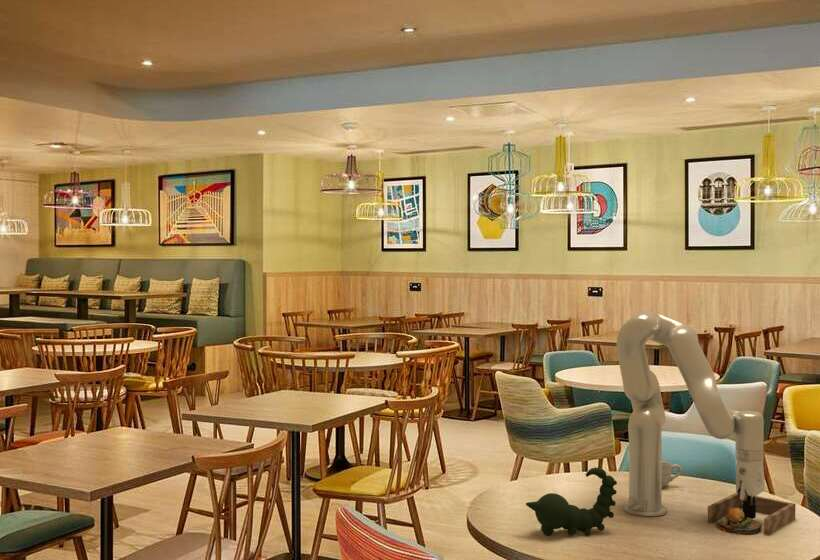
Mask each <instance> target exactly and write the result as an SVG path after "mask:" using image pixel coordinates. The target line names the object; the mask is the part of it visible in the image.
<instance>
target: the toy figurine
mask: <svg viewBox="0 0 820 560" xmlns="http://www.w3.org/2000/svg"><path fill="white" fill-rule="evenodd" d="M592 475H594V476H597V477H598V479H600V480H601V483H602V484H601V485H600V486H599V494H598V495H597V497H596V502H595V503H594V504H593V505H592V507H591V508H580V507H578V506H576V505H575V504H569V502H568V501H567V499H566V498H565V497H564V496H563V495H560V494H558V493H555V492H553V493H551V492H550V493H546V494H544V495H542V496H541V497H539V499H538V500H536V501H530V502H526V503H525V506H527V507H528V508H530V509H531V510H532V511H534V513H535V517H536V520H537V522H538V523H539V524H540V525H541V526H540V531H541V533H542V534H544V536H547V537H549V536H551V535H552V534H554V530H558V529H563V530H565V531H567V533H568V534H569V535H570V536H575V535H576V534H577V533H578V532H577V531H579V532H583V534H584V535H585V536H590V535H591V534H592V529H593V528H596V529H597V530H598V531H601V532H602V531H604V530H605V524H604V523H603V522H604V519H606V518H607V517H608V518H609V519H613V518H614V516H615V513H614V512H613V511H611V508H610V507H611V506H612V507H614V506H616V501H615V500H614V499H613V496H615V495H617V490H616V489H615V488H614V486H616V485H617V484H618V481H617V480H615V478H614V477H613V476H612V475H609V474H608V475H607V471H606V470H604V469H603V468H602V467H592V468H590V469H588V471H586V473H585V477H586V478H587V477H589V476H592Z"/></svg>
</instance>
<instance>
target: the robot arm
mask: <svg viewBox="0 0 820 560" xmlns="http://www.w3.org/2000/svg"><path fill="white" fill-rule="evenodd" d="M648 341H652V342H655V343H656V344H660V345H663V346H665V347H667V348H668V351H669V352H670V354H671V357H672V359H673V361H674V362H675V364H676V366H677V368H678V370H679V373H680V375H681V377H682V378H683V381H684V383H685V385H686V388H687V390H688V392H689V394H690V397H691V399H692V401H693V404H694V406H695V408H696V410H697V413H698V414H699V416H700V419H701V421H702V423H703V425H704V428H705V429H706V431H707V432H708V433H709V434H710V436H712V437H713V438H715V439H717V440H724V439H725V440H726V439H728V438H730V437H731V436H732V435H733V434H735V460H736V461H737V463H736V473H735V491H736V492H735V493H737V494H739V495H740V500H742V504H743V509H742V511H743V512H744V516H746V517H748V518H747V519H749V518H750V519H752V520H754V519H756V517H757V516H756V515H757V512H756V498H757V496H758V495H760V494H761V493H764V491H765V469H764V438H765V437H764V429H765V428H764V425H765V423H764V415H763V414H762V413H761V412H759V411H755V410H735V409H730V408H727V407H726V406H725V404H724V402H723V400H722V398H721V395H720V392H719V390H718V386H717V382H716V376H715V372H714V370H713V369H712V367H711V365H710V362H709V361H708V359H707V357H706V355H705V353H704V351H703V349H702V347H701V344H700V343H699V335H698V334H697V331H696V330H695V329H694V328H693V327H692V326H690V325H687V324H685V323H681V322H680V321H677V320H674V319H672V318H670V317H668V316H665V315H662V314H659V313H657V312H655V311H650V310H645V311H641V312H638V313H637V314H635V315H633V316H631V317H630V318H629V319H628V320H627V321H626V322H624V324H623V325H622V326H621V327H620V328H619V331H618V333H617V337H616V352H617V356H618V357H617V358H618V363H619V364H618V365H619V369H620V375H621V380H622V387H623V392H624V394H625V397H627V398H628V399H629V400H630V403H631V407H632V412H631V414H630V416H629V419H628V423H627V424H628V425H627V432H628V458H629V459H628V463H629V464H628V468H629V469H628V472H629V473H628V501H627V502H625V503H623V504H622V508H623V510H624V511H625V512H626V513H629V514H631V515H636V516H640V517H660V516H663V515H666V514H667V511H668V509H667V506H665V505H664V504H662V498H663V497H662V494H663V493H662V490H663V487H662V461H663V458H662V456H663V453H662V451H663V444H662V441H663V440H662V429H663V427H664V425H665V422H666V413H665V408H664V402H663V397H662V393H661V387H660V383H659V380H658V377H657V376H656V374H655V373H654V372H653V371H652V370H650V364H649V360H648V358H649V357H648V353H647V350H646V345H647V342H648Z"/></svg>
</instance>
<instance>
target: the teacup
mask: <svg viewBox="0 0 820 560" xmlns="http://www.w3.org/2000/svg"><path fill="white" fill-rule="evenodd" d="M675 468H677V469H678V471H677V473H675V474H674V475H672V472H673V469H675ZM682 471H683V470H682V467H681V465H679V464H678V463H677V464H676V463H674V464H672V463H671V462H670V461H669V462H668V461H664V460H662V488H666V486H667V485H668V484H670V483H671V482H673V480H675V479H676V478H678V477H679V476H680V475H681V474H682Z"/></svg>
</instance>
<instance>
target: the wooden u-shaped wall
mask: <svg viewBox="0 0 820 560" xmlns="http://www.w3.org/2000/svg"><path fill="white" fill-rule="evenodd" d="M732 508H739V509H741V510H743V504H742V500H740V495H739V494H737V492H735V493H732V494H730V495H729V496H727V497H724V498H722V499H720V500H718V501H716V502H714V503H712V504H710V505H708V506H707V522H708V523H714V522H715V521H716V522H717V520H718V519H719V518H722V517H726V516H728V511H729V510H730V509H732ZM758 512H759V513H758ZM756 513H758V514H763V515H767V516H765V517H764V518H763V535H764V536H771V535H772V534H773V533H775V532H776V531H778V530H779V529H781V528H783V527H784V526H786V525H788V524H789V523H791V522H793V521H795V520H796V503H793V502H788V501H783V500H777V499H773V498H767V497H763V496H758V495H757V498H756Z"/></svg>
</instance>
